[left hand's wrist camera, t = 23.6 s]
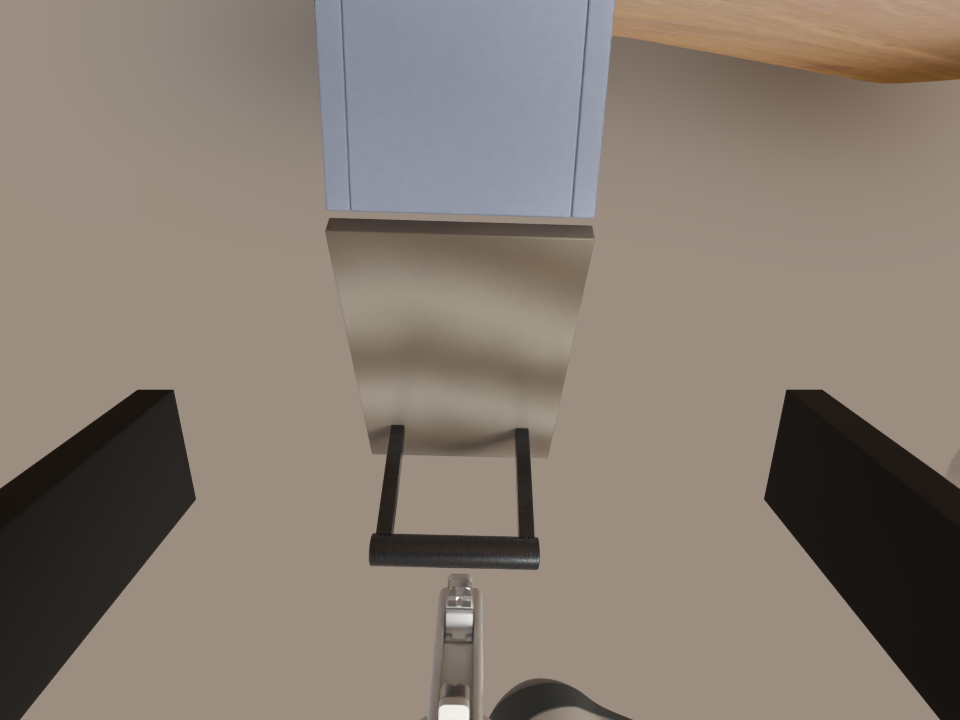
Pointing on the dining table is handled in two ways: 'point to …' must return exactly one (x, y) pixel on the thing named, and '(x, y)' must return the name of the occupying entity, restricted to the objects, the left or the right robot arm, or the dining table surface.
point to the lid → (459, 357)
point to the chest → (463, 105)
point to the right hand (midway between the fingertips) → (457, 630)
